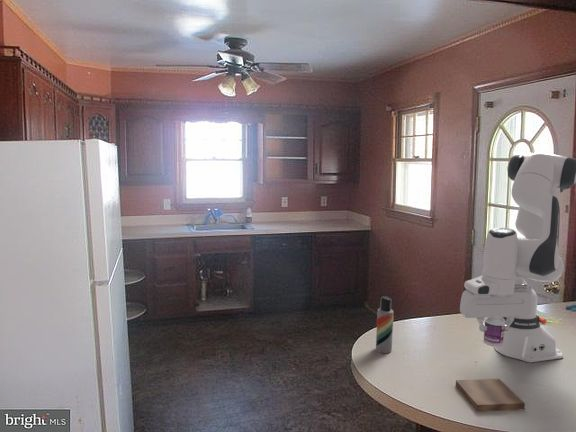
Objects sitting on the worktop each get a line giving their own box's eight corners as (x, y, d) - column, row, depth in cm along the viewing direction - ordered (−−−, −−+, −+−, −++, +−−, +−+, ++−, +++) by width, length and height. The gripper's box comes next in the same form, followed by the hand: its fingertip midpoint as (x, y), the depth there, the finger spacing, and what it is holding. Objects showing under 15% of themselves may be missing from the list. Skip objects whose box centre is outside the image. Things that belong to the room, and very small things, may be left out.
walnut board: (498, 384, 150) (499, 378, 150) (524, 409, 136) (524, 403, 136) (455, 386, 149) (456, 380, 148) (477, 411, 135) (477, 405, 135)
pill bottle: (505, 348, 137) (507, 316, 135) (485, 346, 138) (487, 314, 136) (500, 340, 142) (503, 309, 140) (481, 339, 143) (484, 308, 141)
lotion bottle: (374, 346, 176) (376, 294, 173) (389, 346, 177) (391, 294, 174) (378, 353, 171) (380, 300, 168) (393, 353, 171) (396, 299, 168)
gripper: (525, 280, 141) (521, 325, 143) (459, 282, 139) (456, 327, 141) (538, 287, 135) (534, 333, 137) (469, 288, 133) (465, 335, 135)
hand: (494, 330), depth 139 cm, fingers closed on pill bottle, 5 cm apart
